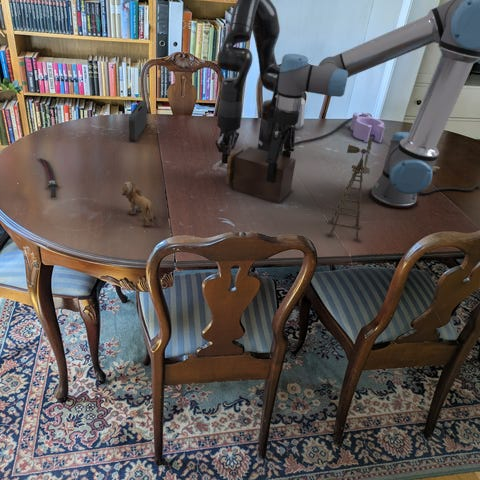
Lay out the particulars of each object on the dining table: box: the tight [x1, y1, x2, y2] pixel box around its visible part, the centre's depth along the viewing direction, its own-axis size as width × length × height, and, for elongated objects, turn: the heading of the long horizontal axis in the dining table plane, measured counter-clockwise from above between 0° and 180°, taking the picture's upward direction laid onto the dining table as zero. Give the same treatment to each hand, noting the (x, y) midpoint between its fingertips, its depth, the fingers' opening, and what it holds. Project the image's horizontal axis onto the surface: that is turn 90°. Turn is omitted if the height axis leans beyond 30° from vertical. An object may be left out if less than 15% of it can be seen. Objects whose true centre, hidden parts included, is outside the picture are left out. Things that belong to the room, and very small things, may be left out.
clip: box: [349, 112, 386, 143], centre depth 214 cm, size 20×12×7 cm, turn 11°
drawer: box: [212, 147, 245, 185], centre depth 157 cm, size 21×10×10 cm, turn 64°
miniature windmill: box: [329, 134, 373, 241], centre depth 132 cm, size 9×8×30 cm
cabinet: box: [232, 146, 297, 204], centre depth 155 cm, size 17×11×12 cm, turn 64°
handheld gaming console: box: [128, 100, 148, 142], centre depth 189 cm, size 23×3×10 cm, turn 178°
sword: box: [40, 158, 59, 198], centre depth 151 cm, size 31×3×1 cm, turn 26°
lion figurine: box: [119, 181, 159, 227], centre depth 134 cm, size 15×5×9 cm, turn 50°
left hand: (225, 162), depth 159 cm, fingers closed
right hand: (277, 175), depth 153 cm, fingers closed on cabinet, 11 cm apart
